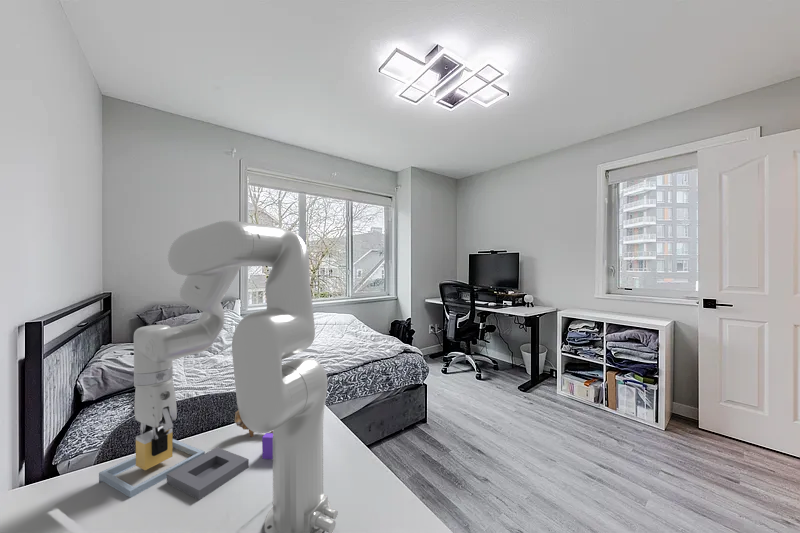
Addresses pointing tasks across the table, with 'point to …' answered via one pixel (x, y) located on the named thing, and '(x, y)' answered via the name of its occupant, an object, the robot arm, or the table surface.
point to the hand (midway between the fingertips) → (154, 449)
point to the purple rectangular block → (267, 446)
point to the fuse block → (207, 472)
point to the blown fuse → (145, 450)
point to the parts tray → (131, 491)
